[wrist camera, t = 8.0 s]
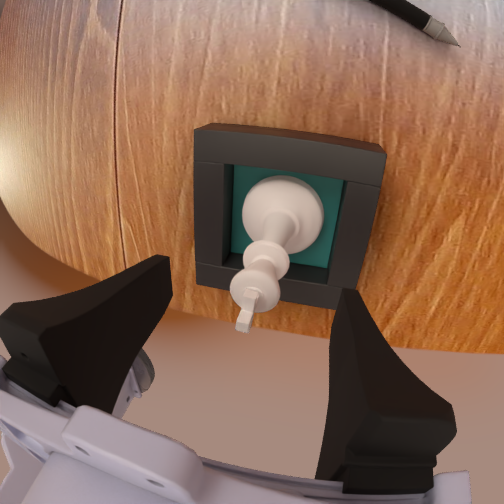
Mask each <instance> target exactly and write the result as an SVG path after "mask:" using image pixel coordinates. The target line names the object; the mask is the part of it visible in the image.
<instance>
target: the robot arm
mask: <svg viewBox="0 0 504 504" xmlns="http://www.w3.org/2000/svg"><path fill="white" fill-rule="evenodd" d="M172 296H173V291H172V281H171V270H170V258H169V257H168V256H162V255H154V256H152V257H150V258H148V259H146V260H144V261H142V262H140V263H138V264H136V265H134V266H132V267H130V268H128V269H126V270H124V271H122V272H120V273H118V274H116V275H114V276H112V277H110V278H107V279H105V280H103V281H101V282H99V283H97V284H94V285H92V286H89V287H86V288H84V289H81V290H78V291H75V292H71V293H68V294H65V295H61V296H57V297H52V298H48V299H43V300H36V301H28V302H18V303H13V304H12V305H11V306H10V307H9V308H8V309H7V310H6V311H4V312H3V313H2V314H1V315H0V337H1V339H2V341H3V343H4V345H5V347H6V348H7V350H8V352H9V354H10V356H11V358H10V359H9V361H8V362H7V360H6V359H5V358H4V357H3V356H1V355H0V430H1V431H2V434H1V437H2V438H1V445H2V448H3V450H4V453H5V455H6V458H7V460H8V463H9V465H10V471H9V472H8V474H7V475H6V477H5V479H4V480H3V482H2V484H1V485H0V504H472V501H471V488H470V477H469V471H467V470H464V471H455V472H445V473H440V474H437V475H434V476H433V467H435V466H436V465H437V460H436V455H437V454H439V453H440V452H441V451H442V450H443V449H444V448H445V447H446V446H447V445H448V444H449V443H450V442H451V441H452V440H453V438H454V437H455V435H456V432H457V428H456V422H455V416H454V412H453V408H452V405H451V404H450V403H449V402H447V401H446V400H445V399H443V398H442V397H440V396H439V395H438V394H436V393H435V392H434V391H432V390H431V389H430V388H429V387H428V386H427V385H425V384H424V383H423V382H422V381H421V380H419V378H418V377H417V376H416V375H415V374H414V373H413V372H411V370H410V369H409V368H408V367H407V366H406V365H405V364H404V363H403V362H402V361H401V359H400V358H399V357H398V356H397V355H396V353H395V352H394V351H393V349H392V348H391V347H390V345H389V344H388V343H387V341H386V340H385V338H384V337H383V335H382V334H381V332H380V330H379V329H378V327H377V325H376V324H375V322H374V320H373V318H372V317H371V315H370V313H369V311H368V309H367V307H366V305H365V303H364V301H363V299H362V297H361V295H360V293H359V292H358V290H355V289H349V288H343V287H342V291H341V295H340V298H339V302H338V306H337V309H336V313H335V316H334V320H333V323H332V327H331V336H330V346H329V403H328V410H327V417H326V424H325V430H324V436H323V442H322V447H321V452H320V457H319V462H318V467H317V471H316V475H315V479H307V478H299V477H293V476H286V475H280V474H274V473H268V472H263V471H258V470H253V469H248V468H243V467H239V466H235V465H230V464H226V463H222V462H218V461H215V460H211V459H207V458H203V457H200V456H198V455H197V454H196V452H195V451H194V450H192V449H191V448H189V447H188V446H186V445H185V444H183V443H181V442H179V441H177V440H175V439H172V438H170V437H168V436H165V435H162V434H160V433H157V432H154V431H151V430H148V429H146V428H143V427H140V426H138V425H135V424H132V423H130V422H127V421H125V420H123V419H122V417H123V415H124V413H125V412H126V410H127V408H128V406H129V405H130V403H131V401H132V399H133V398H134V397H137V398H141V396H142V394H141V391H140V388H139V385H138V382H137V379H136V376H135V373H134V370H133V367H132V364H133V362H134V360H135V358H136V356H137V355H138V353H139V351H140V350H141V348H142V347H143V345H144V344H145V342H146V341H147V339H148V338H149V336H150V334H151V333H152V331H153V330H154V329H155V327H156V325H157V324H158V323H159V321H160V319H161V318H162V316H163V315H164V313H165V311H166V309H167V307H168V305H169V303H170V301H171V298H172Z"/></svg>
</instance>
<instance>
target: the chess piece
mask: <svg viewBox="0 0 504 504" xmlns="http://www.w3.org/2000/svg"><path fill="white" fill-rule="evenodd" d="M242 220H243V224H244V227H245V230H246V232H247V234H248V235H249V237H250V238H251V239H252V240H253V241H254V242H253V243H251V244H250V245H249V246H248V247H247V248H246V249H245V251H244V254H243V264H244V267H245V269H243V270H241V271H240V272H239V273H237V274H236V275H235V276H234V278H233V279H232V281H231V284H230V293H231V296H232V298H233V300H234V301H235V302H236V304H238V305H239V306H240V307H241V311H240V313H239V316H238V318H237V321H236V327H235V330H237V331H241V332H244V333H249V331H250V328H251V325H252V320H253V315H254V312H255V313H261V312H266V311H269V310H271V309H272V308H274V307H275V306H276V305H277V303H278V301H279V299H280V287H279V283H278V280H279V279H281V278H282V277H283V276H284V275H285V274H286V273H287V271H288V269H289V264H290V261H289V256H288V254H293V253H297V252H300V251H302V250H304V249H306V248H307V247H309V246H310V245H311V244H312V243H313V242H314V241H315V240H316V239H317V237H318V235H319V233H320V231H321V229H322V226H323V222H324V209H323V205H322V202H321V200H320V198H319V196H318V194H317V193H316V192H315V190H314V189H313V188H312V187H311V186H310V185H308V184H307V183H305V182H304V181H302V180H300V179H298V178H295V177H292V176H286V175H276V176H271V177H268V178H265V179H263V180H261V181H259V182H258V183H256V184H255V185H254V186H253V187H252V188H251V189H250V191H249V192H248V194H247V196H246V198H245V201H244V205H243V209H242Z"/></svg>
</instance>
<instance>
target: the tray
mask: <svg viewBox="0 0 504 504" xmlns="http://www.w3.org/2000/svg"><path fill="white" fill-rule="evenodd" d="M386 158H387V154H386V152H385V151H384V150H383V149H382V148H381V146H380V145H379V144H374V143H369V142H364V141H359V140H353V139H348V138H342V137H336V136H330V135H323V134H317V133H310V132H303V131H295V130H287V129H278V128H269V127H259V126H248V125H235V124H221V123H210V124H208V125H205V126H202V127H200V128H197V129H194V239H195V261H196V284H198V285H203V286H208V287H213V288H218V289H223V290H228V291H230V284H231V281H232V279H233V278H234V276H235V275H236V274H237V273H239V272H240V271H241V270H243V269H245V267H244V264H243V254H244V251H245V249H246V248H247V247H248V246H249V245H250V244H251V243H253V242H254V241H253V240H252V239H251V238H250V237H249V235H248V234H247V232H246V230H245V227H244V224H243V220H242V209H243V205H244V201H245V198H246V196H247V194H248V192H249V191H250V189H251V188H252V187H253V186H254V185H255V184H256V183H258V182H259V181H261V180H263V179H265V178H268V177H271V176H276V175H286V176H292V177H295V178H298V179H300V180H302V181H304V182H305V183H307V184H308V185H310V186H311V187H312V188H313V189H314V190H315V192H316V193H317V194H318V196H319V198H320V200H321V202H322V205H323V209H324V222H323V226H322V229H321V231H320V233H319V235H318V237H317V239H316V240H315V241H314V242H313V243H312V244H311V245H310V246H309V247H307V248H306V249H304V250H302V251H300V252H297V253H293V254H288V256H289V261H290V264H289V269H288V271H287V273H286V274H285V275H284V276H283V277H282V278H281V279H279V280H278V283H279V287H280V299H279V300H281V301H286V302H292V303H298V304H303V305H309V306H315V307H321V308H327V309H333V310H336V309H337V306H338V302H339V298H340V295H341V291H342V287H343V288H349V289H356V285H357V282H358V278H359V275H360V271H361V268H362V264H363V260H364V257H365V253H366V249H367V245H368V241H369V237H370V233H371V229H372V225H373V221H374V216H375V212H376V208H377V203H378V199H379V194H380V189H381V184H382V179H383V174H384V169H385V164H386Z"/></svg>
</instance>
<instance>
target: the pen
mask: <svg viewBox="0 0 504 504" xmlns="http://www.w3.org/2000/svg"><path fill="white" fill-rule="evenodd" d="M369 1H371V2H373V3H375V4H377V5H379V6H381V7H383V8H385V9H386V10H388V11H390V12H392V13H394V14H395V15H397V16H399V17H401V18H402V19H404V20H406V21H407V22H409V23H411V24H412V25H414V26H416V27H417V28H419V29H420V30H422V31H424V32H426V33H427V34H429V35H430V36H432V37H433V39H434V40H436V39H438V40H441V41H444V42H446V43H449V44H452V45H455V46H459V45H458V42H457V41H456V40H455V38H454V37H453V36H452V35H451V33H450V32H449V31H448V30H447V28H446V27H445V24H444V23H440V22H439V21H437V20H436V19H434V18H433V17H432V16H431V15H429V14H427V13H426V12H424V11H422V10H421V9H419V8H418V7H416V6H414V5H413V4H411V3H409V2H407V1H406V0H369ZM459 47H460V46H459Z"/></svg>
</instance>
